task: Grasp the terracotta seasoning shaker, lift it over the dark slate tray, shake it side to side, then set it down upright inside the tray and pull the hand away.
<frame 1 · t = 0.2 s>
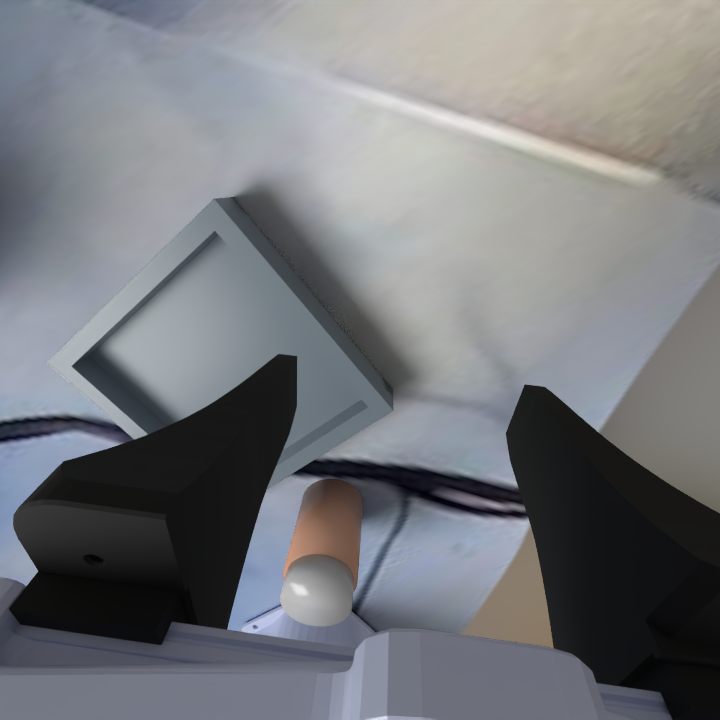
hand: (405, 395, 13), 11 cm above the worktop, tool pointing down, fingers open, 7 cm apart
shaker: (332, 503, 29), on the worktop
tray: (234, 367, 25), on the worktop
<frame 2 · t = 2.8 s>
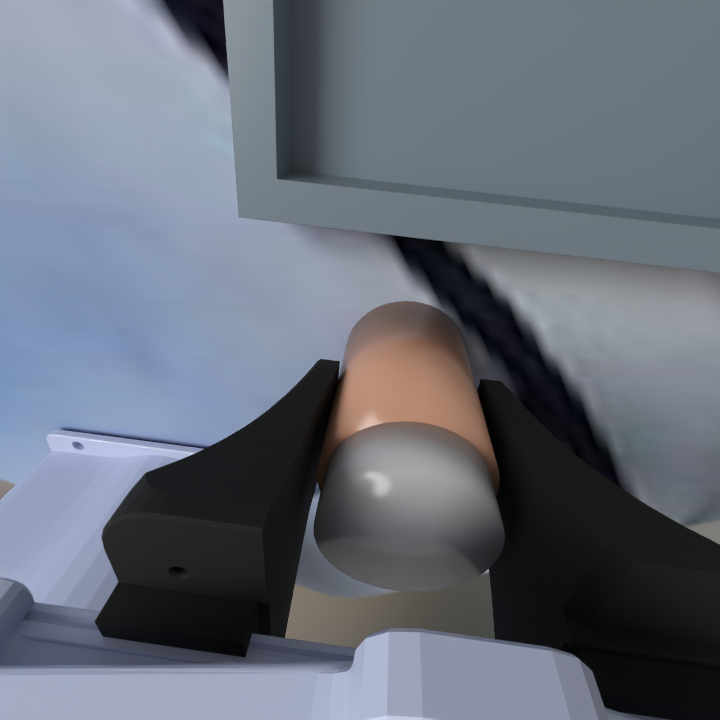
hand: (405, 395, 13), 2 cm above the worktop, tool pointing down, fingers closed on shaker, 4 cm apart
shaker: (404, 356, 15), on the worktop, touching gripper
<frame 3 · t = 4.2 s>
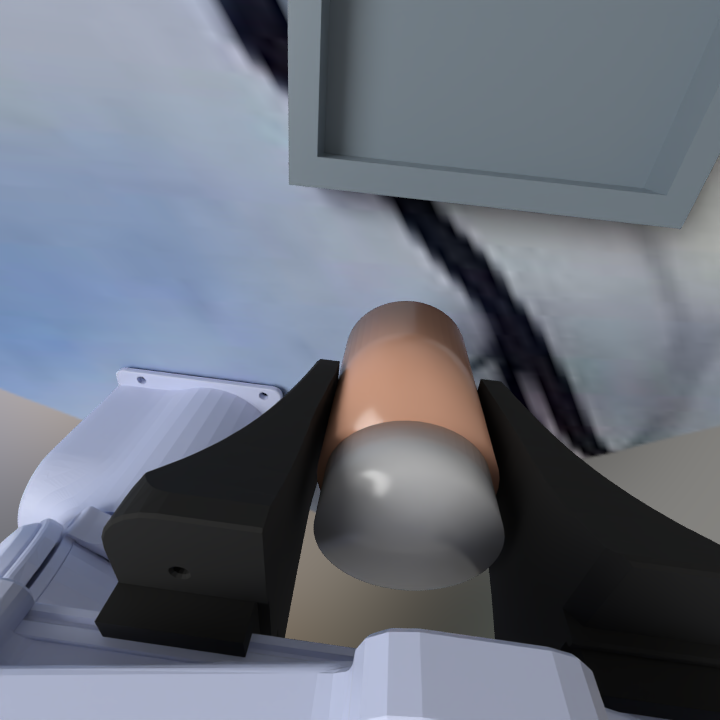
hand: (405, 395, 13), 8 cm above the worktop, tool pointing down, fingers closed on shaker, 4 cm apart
shaker: (404, 355, 15), point 5 cm above the worktop, touching gripper
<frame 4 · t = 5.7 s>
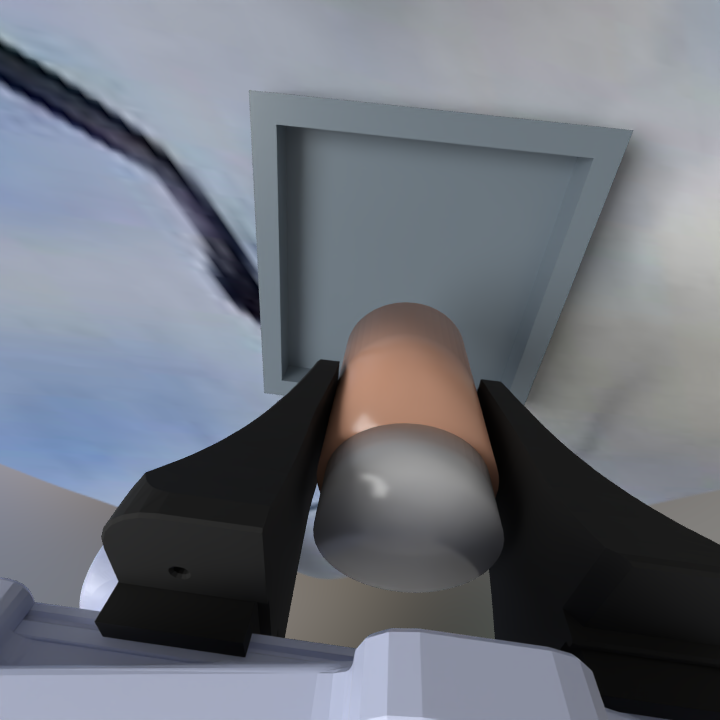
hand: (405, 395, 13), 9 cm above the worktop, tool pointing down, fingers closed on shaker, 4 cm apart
shaker: (404, 356, 15), point 7 cm above the worktop, touching gripper
tray: (408, 271, 20), on the worktop
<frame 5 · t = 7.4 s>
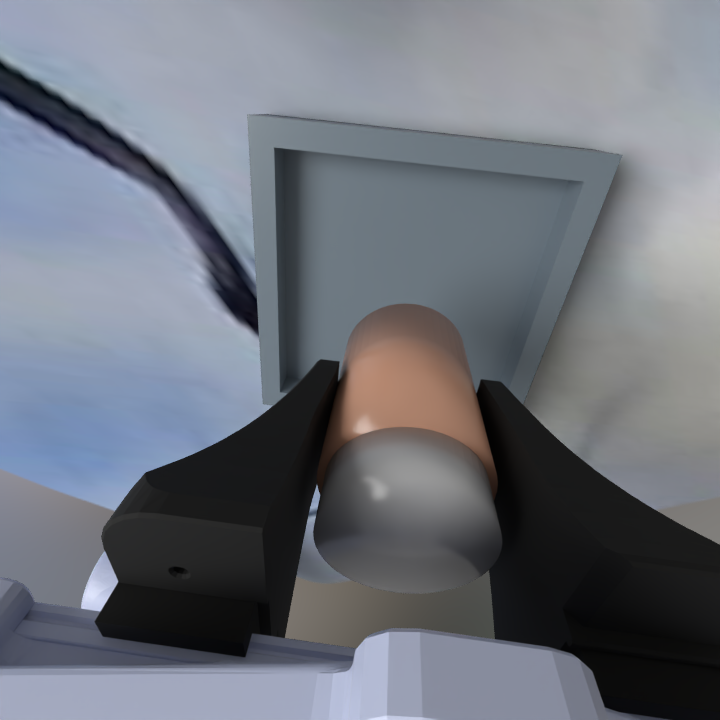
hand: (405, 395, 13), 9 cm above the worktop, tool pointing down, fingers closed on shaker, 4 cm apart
shaker: (404, 357, 15), point 7 cm above the worktop, touching gripper
tray: (404, 286, 21), on the worktop
when the fingers open (4 cm above the worktop, at t = 9.0 s): shaker stays where it is, resting on tray.
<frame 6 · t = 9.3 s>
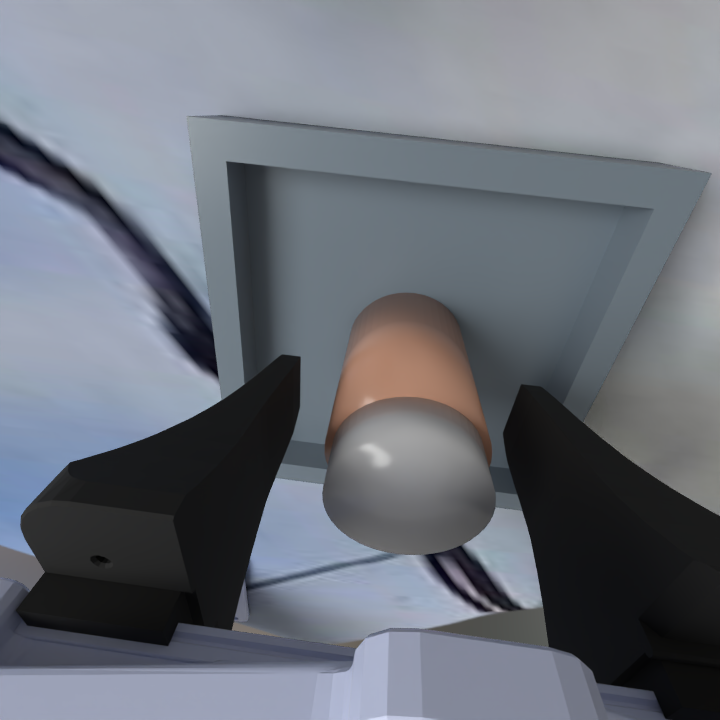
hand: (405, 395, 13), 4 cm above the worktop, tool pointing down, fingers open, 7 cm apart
shaker: (404, 345, 16), point 1 cm above the worktop, touching tray
tray: (404, 331, 16), on the worktop
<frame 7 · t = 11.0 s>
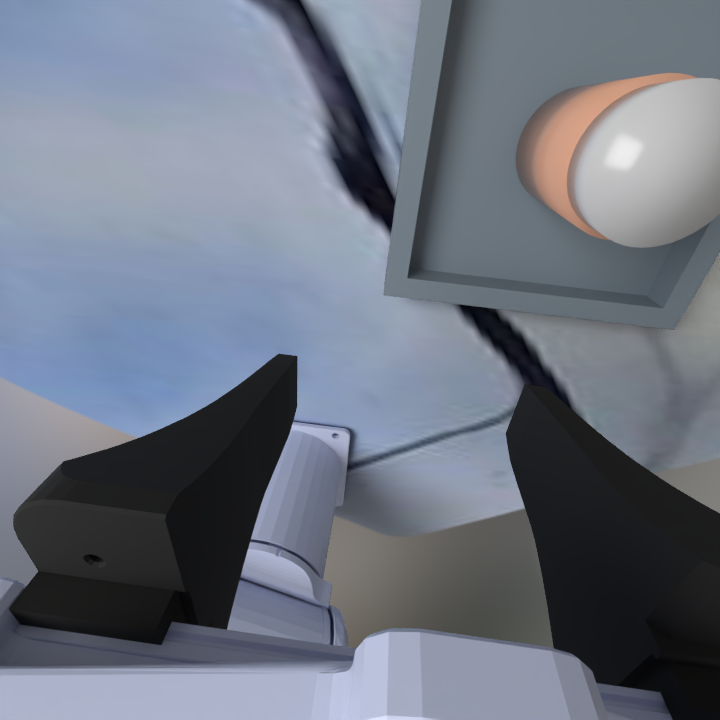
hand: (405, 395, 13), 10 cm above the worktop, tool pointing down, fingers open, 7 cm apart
shaker: (570, 149, 17), point 1 cm above the worktop, touching tray
tray: (562, 145, 18), on the worktop
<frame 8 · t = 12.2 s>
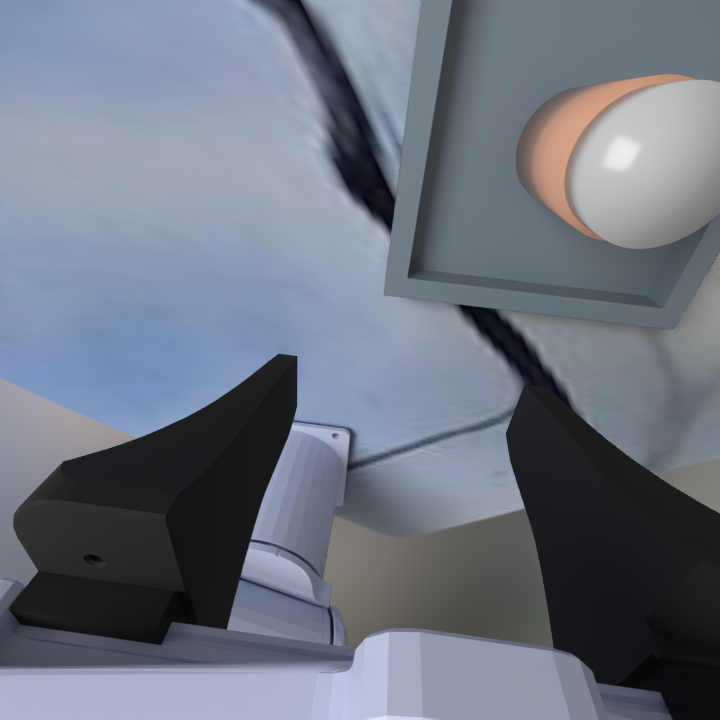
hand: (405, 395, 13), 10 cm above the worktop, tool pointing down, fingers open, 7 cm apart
shaker: (570, 149, 17), point 1 cm above the worktop, touching tray
tray: (562, 145, 18), on the worktop
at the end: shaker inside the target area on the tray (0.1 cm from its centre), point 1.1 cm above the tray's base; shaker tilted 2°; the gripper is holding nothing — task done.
